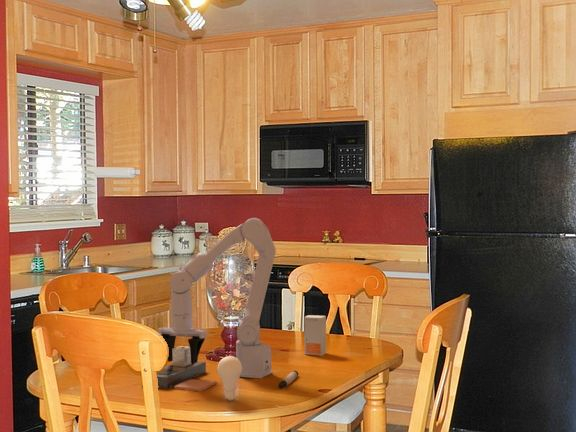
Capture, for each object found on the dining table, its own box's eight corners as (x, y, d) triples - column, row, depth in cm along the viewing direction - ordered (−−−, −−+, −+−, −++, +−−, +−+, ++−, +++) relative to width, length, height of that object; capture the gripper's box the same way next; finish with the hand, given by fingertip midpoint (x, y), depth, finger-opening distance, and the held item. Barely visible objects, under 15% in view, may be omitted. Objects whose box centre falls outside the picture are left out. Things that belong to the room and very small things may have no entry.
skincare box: (304, 354, 247) (303, 316, 247) (308, 352, 251) (308, 314, 251) (322, 356, 245) (321, 317, 245) (326, 353, 249) (326, 315, 249)
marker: (291, 377, 219) (291, 370, 219) (298, 377, 219) (298, 370, 219) (275, 391, 204) (275, 383, 204) (283, 391, 204) (283, 383, 204)
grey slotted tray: (205, 372, 225) (205, 361, 225) (167, 388, 207) (167, 377, 207) (182, 370, 229) (181, 359, 229) (142, 386, 210) (141, 374, 210)
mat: (215, 384, 211) (215, 381, 211) (200, 391, 204) (200, 388, 204) (190, 381, 215) (190, 379, 215) (174, 388, 208) (174, 386, 207)
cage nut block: (192, 374, 223) (192, 346, 222) (185, 378, 219) (184, 349, 219) (180, 373, 224) (180, 345, 224) (172, 376, 221) (172, 348, 220)
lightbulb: (218, 397, 198) (217, 354, 197) (242, 396, 198) (241, 353, 198) (217, 404, 192) (217, 359, 191) (243, 403, 192) (242, 358, 192)
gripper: (151, 314, 220) (152, 362, 221) (196, 317, 214) (197, 367, 215) (165, 311, 227) (166, 357, 227) (209, 313, 221) (210, 361, 221)
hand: (182, 362), depth 221 cm, fingers open, 7 cm apart
